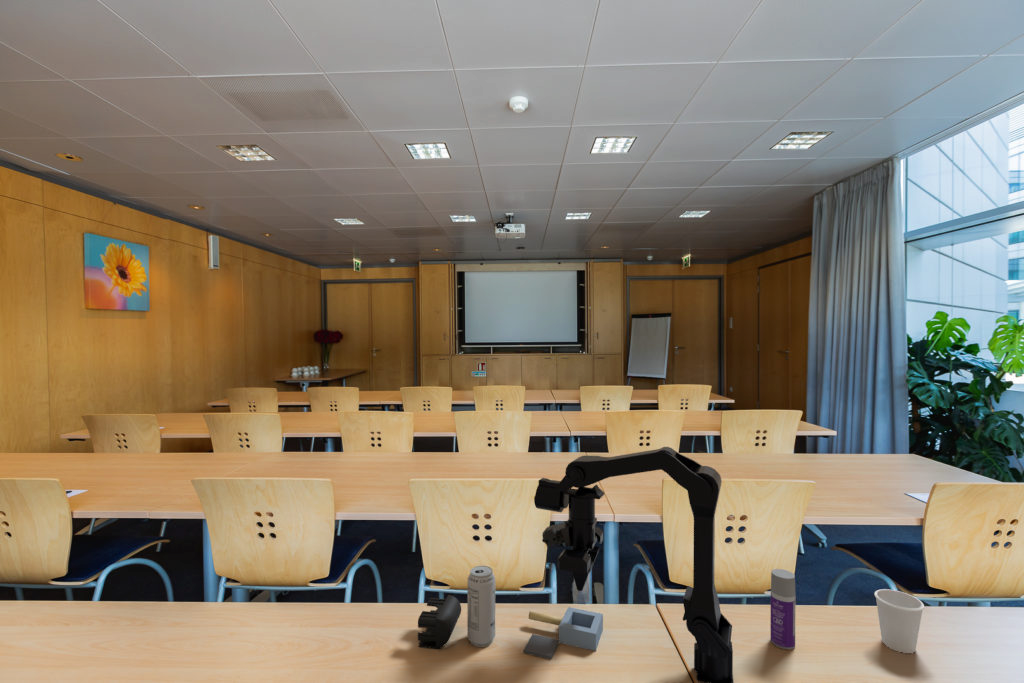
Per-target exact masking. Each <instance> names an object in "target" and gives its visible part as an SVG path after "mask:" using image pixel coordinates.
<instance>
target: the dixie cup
mask: <svg viewBox="0 0 1024 683" xmlns="http://www.w3.org/2000/svg"><path fill="white" fill-rule="evenodd" d="M873 595H874V597H875V598H876V599H875V601H876V606H877V607H876V608H877V614H878V616H877V617H878V622H879V629H880V636H881V642H882V644H883V643H884V644H885V645H886V646H885V645H884V644H883V645H884V646H885V647H886V648H888V647H889V648H888V649H890V650H892V649H893V650H892V651H894V650H895V652H897V651H898V652H897V653H900V652H903V653H902V654H905V653H912V654H914V653H913V652H915V653H916V651H917V644H918V638H919V632H920V628H921V627H920V626H921V620H922V615H923V614H922V613H923V610H924V609H925V604H924V603H923V602H922V601H921V600H920V599H918V598H917V597H915V596H914V595H912V594H911V595H910V594H909V593H906V592H903V591H899V590H895V589H888V588H883V589H882V588H881V589H878V590H875V591H874V594H873Z"/></svg>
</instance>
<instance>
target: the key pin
mask: <svg viewBox="0 0 1024 683" xmlns="http://www.w3.org/2000/svg"><path fill="white" fill-rule="evenodd" d="M573 600H574V602H575V603H577V604H578V605H586V604H589V603H590V574H588V577H587V580H586V582H585V585H584V588H583V590H582V591H579V590H577V587H576V584H575V580H574V579H573Z"/></svg>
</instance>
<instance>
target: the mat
mask: <svg viewBox="0 0 1024 683" xmlns="http://www.w3.org/2000/svg"><path fill="white" fill-rule="evenodd" d="M558 643H559V639H556V638H553V637H547V636H544V635H538V634H536V633H535V634H534V633H532V634H531V636H530V637H529V639H528V641H527V643H526V645H525V647H524V648H523V652H522V653H523V654H526V655H531V656H534V657H538V658H542V659H547V660H552V659H553V656H554V654H555V652H556V650H557V647H558V645H559V644H560V643H559V644H558Z"/></svg>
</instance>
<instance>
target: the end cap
mask: <svg viewBox="0 0 1024 683" xmlns="http://www.w3.org/2000/svg"><path fill="white" fill-rule="evenodd" d="M426 607H435V608H436V610H434V609H433V610H432V609H431V610H430V611H426V610H423V611H422V612H421V613H420V615H419V617H418V620H417V628H421V629H425V630H424V631H423V630H422V631H421V632H417V641H418V647H419V648H421V649H429V650H430V649H433V650H440V649H441V648H442V647H444V646H445V645H446V644H448V643H449V640H450V639H451V636H452V634H453V631H454V630H455V627H456V625H457V623H458V621H459V619H460V616H461V613H462V605H461V603H460V601H459V600H458V599H457V597H455V596H454V595H451V594H448V595H447V597H446V598H436V597H435V598H433V597H430V598H429V599H428V601H427V603H426Z"/></svg>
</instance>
